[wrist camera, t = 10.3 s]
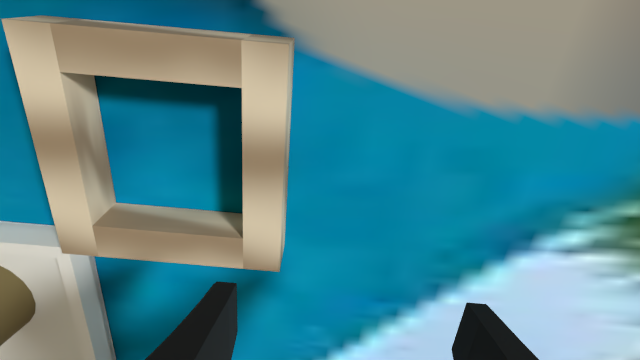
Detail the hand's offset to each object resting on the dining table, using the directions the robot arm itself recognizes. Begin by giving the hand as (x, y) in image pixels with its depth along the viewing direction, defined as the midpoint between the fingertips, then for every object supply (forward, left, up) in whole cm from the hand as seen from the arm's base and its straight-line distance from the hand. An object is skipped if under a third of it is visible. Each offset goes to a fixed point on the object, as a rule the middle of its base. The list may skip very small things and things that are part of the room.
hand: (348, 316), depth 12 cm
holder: (+1, +9, -10) cm, 14 cm away
